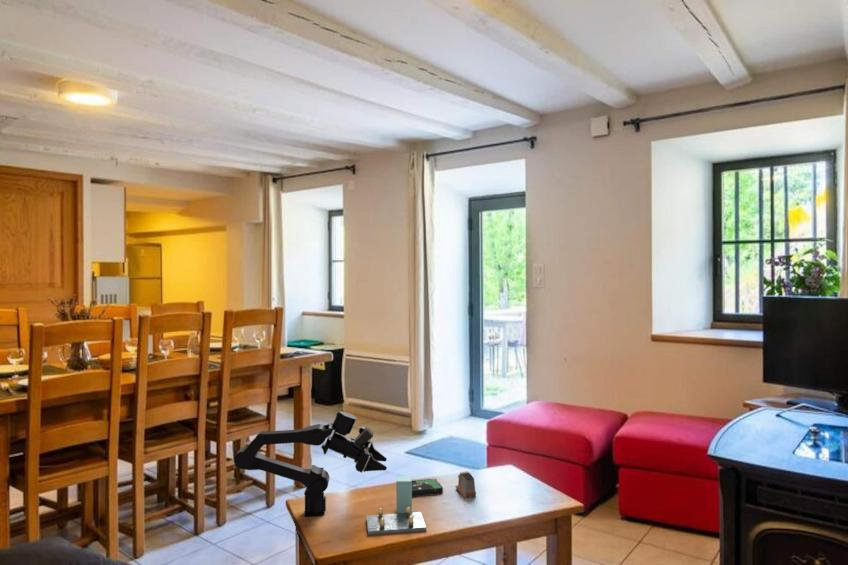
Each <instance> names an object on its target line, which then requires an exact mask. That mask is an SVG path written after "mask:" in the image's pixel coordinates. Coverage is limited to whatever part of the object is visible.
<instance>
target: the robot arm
mask: <svg viewBox="0 0 848 565" xmlns="http://www.w3.org/2000/svg"><path fill="white" fill-rule="evenodd" d="M357 419H358V418H357V416H355V415H354V414H352V413H349V412H346V411H342V410H341V411H340V410H337V413H336V416H335V418H334V420H333V423H328V424H324V425H323V424H321V423H316V424H313V425H308V426H306V427H303V428H299V429H285V430H269V431H266V430H261V431H260V432H258V434H256V436H255V437H254V438H253V439H252V441H250V443H249V444H248V445H245V446H243V447H241V448H240V449H239V450H238V452H237V453H236V454H235V456H234V457H233V463H234V465H235V467H236V468H237V469H239V470H245V471H263V472H265V473H270V474H272V475H276V476H279V477H282V478H286V479H288V480H291V481H296V482H298V483H301V485H303V486H304V487H305V490H304V493H303V494H304V513H303V516H304V517H314V516H316V517H317V516H324V515H325V512H326V510H327V498H326V496H325V491H326V490H327V488H328V486H329V482H330V475H329V474H330V473H329V472H328V471H327V470H325V467H318V466H317V465H315V464H312V465H311V468H305V467H300V466H297V465H295V464H291V463H287V462H284V461H281V460H278V459H275V458H271V457H268V456H266V455H264V454H263V453H261V452H260V450H261V448H262V447H264V446H265V445H281V444H297V443H300V444H304V445H308V446H321V447H320V448H321V449H322V451H323V452H322V453H323V455H327V452H328V450H330V451H333V452H335V453H337V454H340V455H342V458H344V459H346V458H348V459H351V460H354V461H353V462H354V463H355V470H356V471H357V472H359V473H363V472H364V473H365V472H374V471H375V472H376V471H387V466H386V465H385V464H383V463H382V462H387V457H386V456H384V455H383V454H382V453H380V451H378V450H377V449H376V448H375V447H374V444H373V442H372V441H371V439H372V438H373V437H374V432H373V431H372V430H370V429H371V428H369V427H368V426H365V427H364V426H361V427H360V428H359V429H358V434H357V436H356V437H353V436H352V437H350V438H349V437H346V436H347V435H349V434H351V432H352V430H353V427H354V425H355V424H356V421H357Z"/></svg>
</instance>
